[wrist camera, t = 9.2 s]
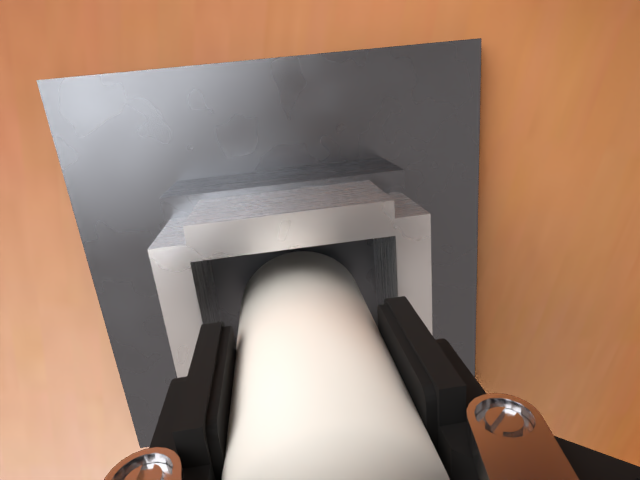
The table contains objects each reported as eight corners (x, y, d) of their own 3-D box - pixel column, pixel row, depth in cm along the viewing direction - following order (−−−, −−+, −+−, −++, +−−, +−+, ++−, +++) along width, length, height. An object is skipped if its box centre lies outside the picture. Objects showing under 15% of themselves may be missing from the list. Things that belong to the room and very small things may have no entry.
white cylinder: (356, 243, 14) (455, 408, 7) (364, 350, 16) (454, 586, 8) (232, 259, 14) (194, 450, 7) (250, 367, 15) (236, 629, 8)
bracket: (469, 41, 18) (592, 10, 11) (465, 381, 23) (547, 499, 16) (49, 81, 16) (-96, 73, 10) (145, 432, 22) (93, 582, 15)
